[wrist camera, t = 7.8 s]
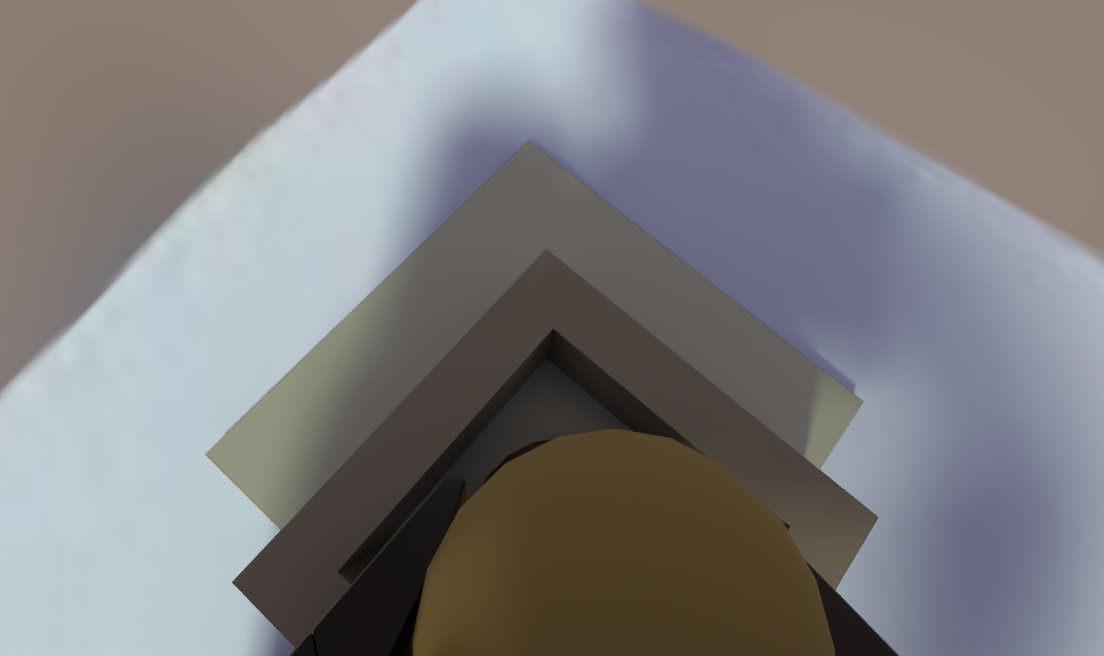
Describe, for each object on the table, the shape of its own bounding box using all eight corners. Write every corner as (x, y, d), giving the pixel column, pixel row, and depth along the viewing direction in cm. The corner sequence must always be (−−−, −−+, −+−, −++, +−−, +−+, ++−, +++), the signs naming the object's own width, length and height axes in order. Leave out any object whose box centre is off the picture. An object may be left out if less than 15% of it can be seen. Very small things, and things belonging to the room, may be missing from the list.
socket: (582, 816, 15) (608, 969, 10) (215, 454, 17) (105, 451, 12) (853, 403, 18) (958, 384, 14) (528, 150, 20) (530, 63, 16)
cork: (543, 400, 17) (576, 281, 6) (695, 513, 16) (1039, 607, 5) (424, 560, 15) (189, 780, 4) (586, 693, 14) (761, 1336, 4)
